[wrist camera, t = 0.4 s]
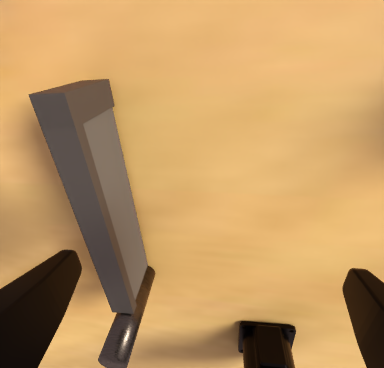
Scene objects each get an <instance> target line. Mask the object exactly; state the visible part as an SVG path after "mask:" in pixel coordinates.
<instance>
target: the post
mask: <svg viewBox="0 0 384 368" xmlns="http://www.w3.org/2000/svg"><path fill="white" fill-rule="evenodd" d="M154 277H155V271H154V269H153V268H151V267H150V266H147V269H146V271H145V274H144V277H143V280H142V283H141V286H140V289H139V291H138V294H137V297H136V300H135V301H136V305H137V306H136V309H135V312H134V314H129V313H117V314H116V316H115V319H114V321H113V323H112V326H111V328H110V331H109V333H108V336H107V338H106V341H105V343H104V346H103V348H102V351H101V353H100V356H99V358H98V361H99V363H100V364H101V365H103V366H104V367H106V368H127V365H128V362H129V359H130V355H131V352H132V349H133V346H134V342H135V339H136V336H137V332H138V329H139V326H140V323H141V319H142V316H143V313H144V309H145V306H146V303H147V300H148V296H149V293H150V290H151V286H152V283H153V280H154Z"/></svg>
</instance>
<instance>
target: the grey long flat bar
mask: <svg viewBox="0 0 384 368" xmlns="http://www.w3.org/2000/svg"><path fill="white" fill-rule="evenodd" d="M29 97H30V100H31V103H32V105H33V108H34V110H35V113H36V116H37V118H38V121H39V123H40V126H41V129H42V131H43V134H44V136H45V139H46V142H47V144H48V147H49V149H50V152H51V154H52V157H53V160H54V162H55V165H56V167H57V170H58V173H59V175H60V178H61V180H62V183H63V186H64V188H65V191H66V193H67V196H68V199H69V201H70V204H71V206H72V209H73V211H74V214H75V217H76V219H77V222H78V224H79V227H80V230H81V232H82V235H83V237H84V240H85V243H86V245H87V248H88V250H89V253H90V256H91V258H92V261H93V263H94V266H95V269H96V271H97V274H98V276H99V279H100V281H101V284H102V287H103V289H104V292H105V294H106V297H107V300H108V302H109V305H110V307H111V310H112V312H117V313H129V314H134V312H135V309H136V306H137V305H136V301H135V300H136V297H137V294H138V291H139V289H140V286H141V283H142V280H143V277H144V274H145V271H146V269H147V266H148V263H147V259H146V254H145V250H144V245H143V241H142V237H141V232H140V228H139V223H138V219H137V214H136V210H135V206H134V201H133V197H132V192H131V188H130V184H129V179H128V175H127V170H126V166H125V161H124V157H123V153H122V148H121V144H120V139H119V135H118V131H117V126H116V122H115V117H114V113H113V108H112V107H114V101H113V97H112V92H111V88H110V83H109V79H102V80H85V81H79V82H75V83H71V84H67V85H63V86H60V87H56V88H52V89H48V90H44V91H41V92H37V93H33V94H29Z"/></svg>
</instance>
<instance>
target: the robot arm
mask: <svg viewBox="0 0 384 368" xmlns="http://www.w3.org/2000/svg"><path fill="white" fill-rule="evenodd" d="M81 271H82V266H81V263H80V260H79V258H78V255H77V253H76V252H75V251H74V250H62V251H60V252H58V253H57V254H55V255H54V256H52V257H51V258H49V259H47V260H46V261H44V262H43V263H41V264H39V265H38V266H36V267H35V268H33V269H31V270H30V271H28V272H27V273H25V274H24V275H22V276H20V277H19V278H17V279H16V280H14V281H12V282H11V283H9V284H8V285H6V286H4V287H3V288H1V289H0V368H38V366H39V364H40V362H41V360H42V358H43V356H44V354H45V353H46V351H47V349H48V347H49V345H50V343H51V341H52V339H53V337H54V335H55V333H56V331H57V329H58V327H59V325H60V323H61V321H62V319H63V317H64V315H65V312H66V310H67V307H68V305H69V302H70V300H71V297H72V295H73V292H74V290H75V287H76V285H77V282H78V280H79V277H80V275H81ZM343 295H344V298H345V302H346V305H347V309H348V312H349V316H350V319H351V323H352V326H353V329H354V333H355V336H356V340H357V343H358V346H359V349H360V351H361V354H362V357H363V359H364V362H365V364H366V367H367V368H384V283H383V282H382V281H381V280H380V279H378V278H377V277H376V276H374V275H373V274H372V273H371V272H369V271H368V270H366V269H357V268H352V269H350V270H349V272H348V274H347V277H346V279H345V282H344V284H343ZM295 334H296V329H295V327H294V326H291V325H279V324H266V323H253V322H241V323H240V327H239V345H238V351H239V352H240V353H243V360H244V368H295V365H294V360H293V356H292V351H291V349H292V345H293V341H294V337H295Z"/></svg>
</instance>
